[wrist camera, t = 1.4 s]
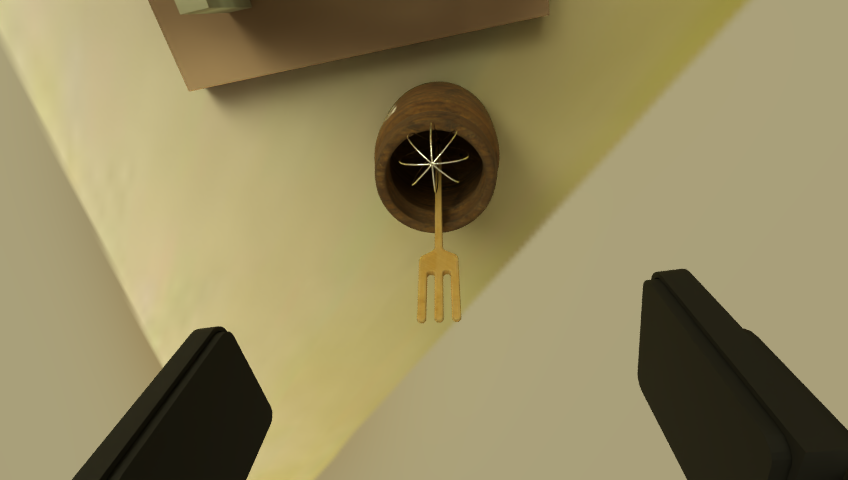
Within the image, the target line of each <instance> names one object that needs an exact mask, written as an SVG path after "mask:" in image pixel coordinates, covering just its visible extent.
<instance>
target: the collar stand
mask: <svg viewBox="0 0 848 480" xmlns="http://www.w3.org/2000/svg"><path fill="white" fill-rule="evenodd" d="M148 1H149V3H150V6H151V8H152V10H153V12H154V14H155V17H156V19H157V21H158V23H159V26H160V28H161V30H162V32H163V35H164V37H165V39H166V41H167V44H168V46H169V48H170V50H171V52H172V55H173V57H174V59H175V61H176V64H177V66H178V68H179V70H180V73H181V75H182V77H183V79H184V82H185V84H186V86H187V88H188V90H189V91H194V90H198V89H203V88H208V87H213V86H217V85H222V84H227V83H231V82H236V81H241V80H246V79H250V78H255V77H260V76H264V75H269V74H274V73H279V72H283V71H288V70H293V69H297V68H302V67H307V66H311V65H316V64H321V63H326V62H330V61H335V60H340V59H344V58H349V57H354V56H359V55H363V54H368V53H373V52H377V51H382V50H387V49H392V48H396V47H401V46H406V45H410V44H415V43H420V42H424V41H429V40H434V39H439V38H443V37H448V36H453V35H457V34H462V33H467V32H472V31H476V30H481V29H486V28H490V27H495V26H500V25H505V24H509V23H514V22H519V21H523V20H528V19H533V18H537V17H542V16H547V15H549V0H148Z"/></svg>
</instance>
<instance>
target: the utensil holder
mask: <svg viewBox="0 0 848 480" xmlns="http://www.w3.org/2000/svg"><path fill="white" fill-rule="evenodd" d="M498 167H499V144H498V139H497V136H496V132H495V129H494V126H493V124H492V121H491V119H490V117H489V114H488V113H487V111H486V109H485V107H484V106H483V104H482V103H481V102H480V101H479V100H478V99H477V98H476V97H475V96H474V95H473V94H472V93H471V92H469V91H468V90H466V89H464V88H462V87H460V86H458V85H455V84H452V83H447V82H430V83H425V84H422V85H419V86H417V87H415V88H413V89H411V90H409V91H408V92H406V93H405V94H404V95H403V96H401V97H400V98H399V99H398V100H397V102H396V103H395V104H394V105H393V107H392V108H391V110H390V111H389V113H388V115H387V117H386V118H385V120H384V122H383V124H382V127H381V129H380V131H379V134H378V137H377V141H376V146H375V180H376V186H377V191H378V194H379V196H380V198H381V200H382V202H383V204H384V206H385V207H386V209H387V210H388V211H389V212H390V213H391V214H392V215H393V216H394V217H395V218H396V219H397V220H398V221H400V222H401V223H403V224H404V225H406V226H408V227H410V228H413V229H416V230H419V231H423V232H429V233H435V249H434V250H433V251H431V252H429V253H427V254H425V255H423V256H421V258H420V259H419V283H418V310H417V321H418V322H419V323H424V322H425V321H426V303H427V277H428V276H429V275H434V276H435V321H436V322H442V321H443V319H444V317H443V276H444V275H445V274H450V275H451V295H452V319H453V320H454V321H455V322H459V321H460V320H461V305H460V285H459V265H458V257H457V255H456V254H453V253H450V252H448V251H445V250H444V249H443V234H442V233H443V232H449V231H453V230H456V229H459V228H462V227H464V226H466V225H467V224H469V223H471V222H472V221H473V220H475V219H476V218H477V217H478V216H479V215H480V214H481V213H482V212H483V211H484V210H485V208H486V207H487V205H488V204H489V202H490V200H491V198H492V195H493V193H494V189H495V185H496V180H497V171H498Z"/></svg>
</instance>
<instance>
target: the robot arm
mask: <svg viewBox="0 0 848 480" xmlns="http://www.w3.org/2000/svg"><path fill="white" fill-rule="evenodd" d="M640 328H641V329H640V343H639V344H640V345H639V359H638V361H639V362H638V380H639V385H640V387H641V390H642V392H643V394H644V396H645V398H646V400H647V402H648V404H649V406H650V408H651V410H652V412H653V413H654V416H655V418H656V420H657V422H658V424H659V425H660V427H661V429H662V431H663V433H664V435H665V437H666V439H667V441H668V443H669V445H670V447H671V449H672V451H673V452H674V454H675V457H676V459H677V461H678V463H679V464H680V466H681V468H682V470H683V472H684V474H685V476H686V478H687V480H848V430H847V429H846V428H845V427H844V426H843V425H842V424H841V423H840V422H839V421H838V420H837V419H836V418H835V416H834V415H833V414H832V413H831V412H830V411H829V410H828V409H827V408H826V407H825V406H824V405H823V404H822V403H821V402H820V401H819V400H818V399H817V398H816V397H815V396H814V395H813V394H812V393H811V392H810V390H809V389H808V388H807V387H806V386H805V385H804V384H803V383H802V382H801V381H800V380H799V379H798V378H797V377H796V376H795V375H794V374H793V373H792V372H791V371H790V370H789V369H788V368H787V367H786V366H785V364H784V363H783V362H782V361H781V360H780V359H779V358H778V357H777V356H776V355H775V354H774V353H773V352H772V351H771V350H770V349H769V348H768V347H767V346H766V345H765V344H764V343H763V342H762V341H761V340H760V339H759V337H757V336H756V335H755V334H754V333H752V332H751V331H749V330H746V329H743V328H742V327H741V326H740V325H739V324H738V323H737V322H736V321H735V320H734V319H733V318H732V317H731V315H730V314H729V313H728V312H727V311H726V310H725V309H724V308H723V307H722V306H721V305H720V304H719V303H718V302H717V301H716V299H715V298H714V297H713V296H712V295H711V294H710V293H709V292H708V291H707V290H706V289H705V288H704V287H703V286H702V285H701V283H700V282H699V281H698V280H697V279H696V278H695V277H694V276H693V275H692V274H691V273H690V272H689V271H688V270H686V269H677V270H669V271H661V272H655V273H654V274H653V275H652V279H651V280H646V281H645V282H644V284H643V296H642V311H641V327H640ZM271 421H272V409H271V406H270V404H269V402H268V400H267V399H266V397H265V395H264V393H263V391H262V389H261V387H260V385H259V383H258V381H257V379H256V378H255V376H254V374H253V372H252V370H251V368H250V366H249V364H248V362H247V360H246V358H245V357H244V355H243V353H242V351H241V349H240V347H239V345H238V343H237V341H236V339H235V337H234V336H233V334H232V333H230V332H227V331H226V329H225V328H223V327H219V326H218V327H210V328H202V329H197V330H195V331H193V332H192V333H191V334H190V336H189V337H188V338H187V339H186V340H185V342H184V343H183V344H182V345H181V347H180V348H179V349H178V350H177V351H176V353H175V354H174V355H173V356H172V358H171V359H170V360H169V361H168V363H167V364H166V365H165V366H164V367H163V369H162V370H161V371H160V372H159V374H158V375H157V376H156V377H155V378H154V380H153V381H152V382H151V383H150V385H149V386H148V387H147V388H146V389H145V391H144V392H143V393H142V395H141V396H140V397H139V398H138V399H137V401H136V402H135V403H134V404H133V405H132V407H131V408H130V409H129V410H128V412H127V413H126V414H125V415H124V417H123V418H122V419H121V420H120V421H119V423H118V424H117V425H116V426H115V427H114V429H113V430H112V431H111V432H110V434H109V435H108V436H107V437H106V439H105V440H104V441H103V442H102V444H101V445H100V446H99V447H98V448H97V449H96V451H95V452H94V453H93V454H92V456H91V457H90V458H89V459H88V461H87V462H86V463H85V464H84V465H83V467H82V468H81V469H80V470H79V472H78V473H77V474H76V475H75V477H74V478H73V479H72V480H246V479H247V477H248V474H249V472H250V470H251V468H252V465H253V463H254V461H255V458H256V456H257V454H258V452H259V449H260V447H261V445H262V443H263V440H264V438H265V436H266V433H267V431H268V429H269V427H270V424H271Z"/></svg>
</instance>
